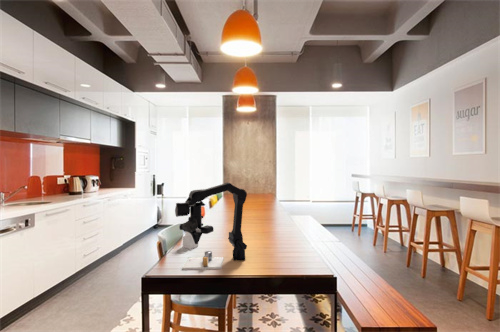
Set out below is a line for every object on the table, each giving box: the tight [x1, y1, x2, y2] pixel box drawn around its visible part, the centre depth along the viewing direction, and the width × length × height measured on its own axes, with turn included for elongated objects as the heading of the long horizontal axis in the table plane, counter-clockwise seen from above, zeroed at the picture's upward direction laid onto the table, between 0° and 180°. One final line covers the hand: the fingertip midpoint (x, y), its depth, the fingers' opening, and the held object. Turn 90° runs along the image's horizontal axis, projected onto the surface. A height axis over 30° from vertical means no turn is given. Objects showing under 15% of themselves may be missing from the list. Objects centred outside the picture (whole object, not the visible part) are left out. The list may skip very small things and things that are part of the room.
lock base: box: [182, 256, 224, 271], centre depth 153 cm, size 20×14×1 cm
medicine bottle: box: [182, 231, 199, 250], centre depth 182 cm, size 7×7×12 cm
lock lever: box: [202, 250, 213, 266], centre depth 153 cm, size 10×4×4 cm, turn 177°
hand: (196, 244), depth 149 cm, fingers closed
